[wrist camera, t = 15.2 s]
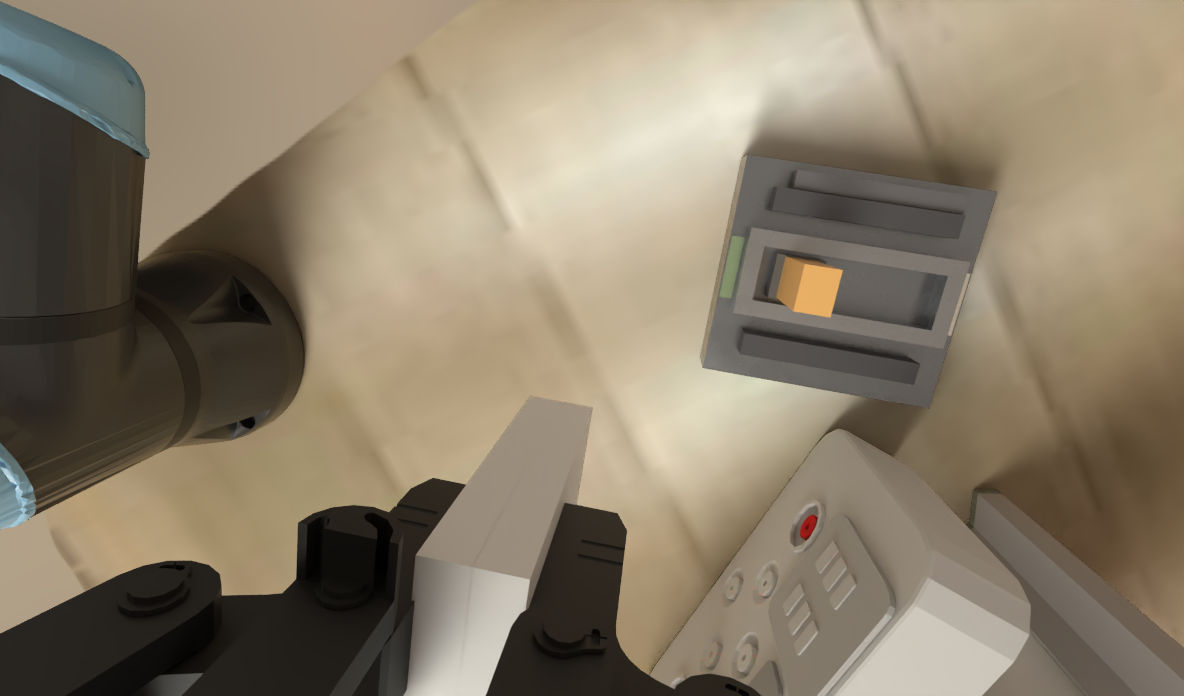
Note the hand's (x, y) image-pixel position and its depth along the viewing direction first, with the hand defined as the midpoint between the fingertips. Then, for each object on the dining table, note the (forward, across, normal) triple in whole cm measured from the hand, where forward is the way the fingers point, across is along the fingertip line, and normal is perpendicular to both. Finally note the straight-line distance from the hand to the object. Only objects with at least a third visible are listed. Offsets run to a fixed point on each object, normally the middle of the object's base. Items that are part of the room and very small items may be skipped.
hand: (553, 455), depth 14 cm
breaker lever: (+26, +10, +3) cm, 28 cm away
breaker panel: (+29, +14, +3) cm, 32 cm away
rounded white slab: (+30, +14, -21) cm, 39 cm away
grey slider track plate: (+26, +14, +4) cm, 30 cm away
